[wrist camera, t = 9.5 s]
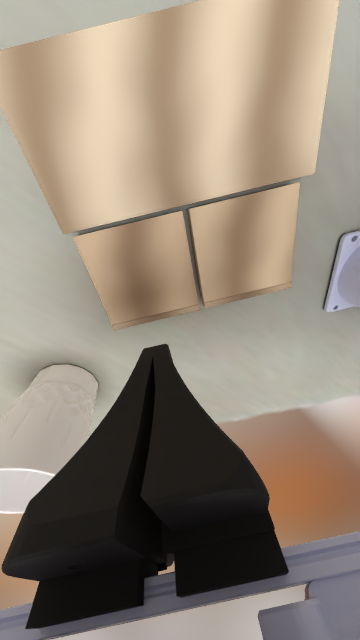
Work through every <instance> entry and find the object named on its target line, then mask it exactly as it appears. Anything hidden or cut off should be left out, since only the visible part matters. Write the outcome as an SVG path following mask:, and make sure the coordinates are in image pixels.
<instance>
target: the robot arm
mask: <svg viewBox="0 0 360 640" xmlns="http://www.w3.org/2000/svg"><path fill="white" fill-rule="evenodd" d="M353 237H354V238H353ZM352 238H353V239H352ZM355 306H357V307H359V308H360V230H359V231H355V232H351V233H347V234H345V235H343V236H342V238H341V240H340V243H339V248H338V252H337V256H336V260H335V265H334V269H333V273H332V277H331V282H330V286H329V290H328V294H327V299H326V303H325V307H324V310H325V311H326V312H334V311H338V310H342V309H346V308H351V307H355ZM269 499H270V498H269V494H268V491H267V489H266V487H265V485H264V483H263V481H262V479H261V478H260V476H259V474H258V473H257V471H256V470H255V468H254V467H253V465H252V464H251V463H250V461H249V460H248V458H247V457H246V455H245V454H244V452H243V451H242V450H241V449H240V448H239V447H238V446H237V445H236V444H235V443H234V442H233V441H232V440H231V439H230V438H229V437H228V436H227V435H226V434H225V433H224V432H223V431H222V430H221V429H220V428H219V426H218V425H217V424H216V423H215V422H214V421H213V420H212V419H211V417H210V416H209V415H208V414H207V413H206V412H205V410H204V409H203V408H202V407H201V406H200V404H199V403H198V402H197V400H196V399H195V398H194V396H193V395H192V394H191V392H190V391H189V389H188V388H187V386H186V385H185V383H184V382H183V380H182V378H181V377H180V375H179V373H178V372H177V370H176V368H175V366H174V364H173V360H172V357H171V353H170V350H169V347H168V345H167V344H162V345H158V346H154V347H149V348H145V349H143V351H142V353H141V355H140V357H139V360H138V362H137V364H136V366H135V368H134V370H133V372H132V374H131V376H130V378H129V380H128V381H127V383H126V385H125V387H124V388H123V390H122V392H121V393H120V395H119V397H118V398H117V400H116V402H115V403H114V405H113V406H112V408H111V409H110V411H109V412H108V413H107V415H106V416H105V418H104V419H103V420H102V422H101V423H100V424H99V426H98V427H97V428H96V429H95V431H94V432H93V433H92V435H91V436H90V437H89V438H88V440H87V441H86V442H85V443H84V444H83V445H82V446H81V448H80V449H79V450H78V451H77V452H76V453H75V455H74V456H73V457H72V458H71V459H70V460H69V461H68V462H67V463H66V464H65V466H64V467H63V468H62V469H61V470H60V471H59V472H58V473H57V474H56V475H55V476H54V477H53V478H52V479H51V480H50V481H49V482H48V483H47V484H46V485H45V486H44V487H43V488H42V489H41V490H40V491H39V492H38V493H37V494H36V495H35V496H34V497H33V498H32V499H31V500H30V501H29V503H28V505H27V507H26V510H25V512H24V514H23V516H22V519H21V521H20V523H19V526H18V528H17V531H16V533H15V535H14V538H13V540H12V542H11V545H10V547H9V550H8V552H7V554H6V557H5V559H4V561H3V564H2V571H3V573H5V574H6V575H8V576H12V577H17V578H23V579H29V580H35V581H40V582H39V585H38V588H37V592H36V595H35V598H34V601H33V603H29V604H24V605H20V606H15V607H11V608H6V609H1V610H0V640H50V639H55V638H59V637H64V636H69V635H73V634H78V633H82V632H87V631H91V630H96V629H101V628H105V627H110V626H115V625H119V624H124V623H128V622H133V621H138V620H142V619H146V618H151V617H156V616H161V615H165V614H170V613H174V612H179V611H184V610H188V609H193V608H197V607H202V606H207V605H211V604H215V603H220V602H225V601H230V600H234V599H239V598H243V597H248V596H253V595H257V594H262V593H266V592H271V591H276V590H280V589H285V588H289V587H294V586H298V585H303V584H307V585H306V588H305V600H304V601H300V602H296V603H291V604H287V605H282V606H278V607H273V608H269V609H265V610H260V611H259V613H258V619H259V623H260V627H261V631H262V635H263V640H360V531H358V532H353V533H348V534H344V535H340V536H335V537H331V538H326V539H321V540H316V541H312V542H307V543H303V544H298V545H294V546H289V547H285V548H280V545H279V543H278V540H277V537H276V534H275V531H274V529H275V528H274V525H273V522H272V519H271V516H270V514H269V511H268V505H269ZM173 561H174V563H175V572H170V573H166V574H162V575H158V571H163V570H166V569H167V567H168V566H171V565H172V564H173ZM308 583H309V584H308Z"/></svg>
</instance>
